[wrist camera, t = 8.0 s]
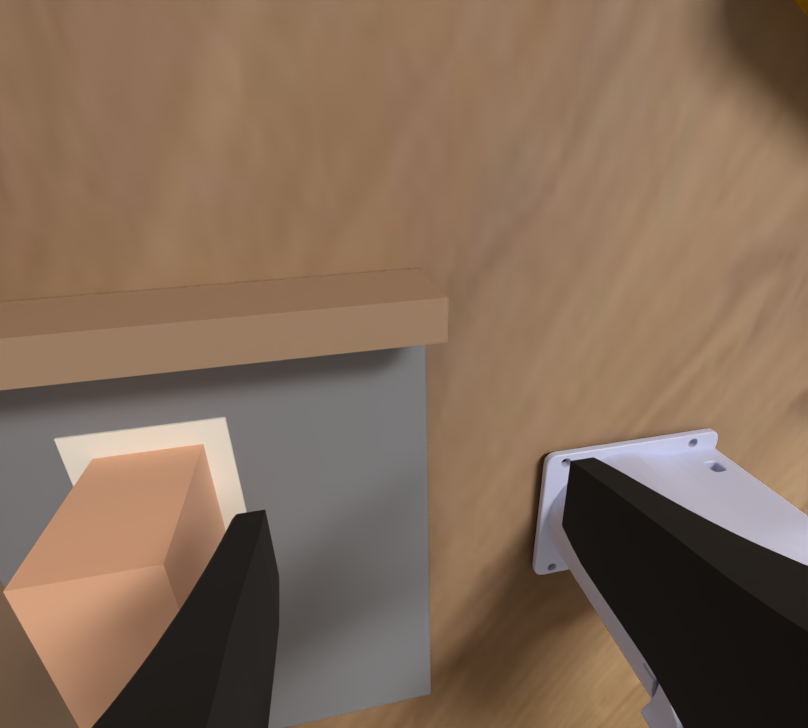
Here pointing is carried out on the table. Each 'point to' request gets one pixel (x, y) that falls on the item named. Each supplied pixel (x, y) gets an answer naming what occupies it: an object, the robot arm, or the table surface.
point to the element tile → (802, 5)
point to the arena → (244, 458)
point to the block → (116, 570)
